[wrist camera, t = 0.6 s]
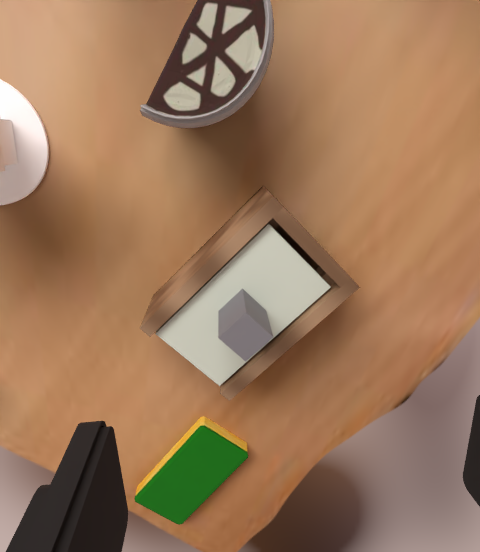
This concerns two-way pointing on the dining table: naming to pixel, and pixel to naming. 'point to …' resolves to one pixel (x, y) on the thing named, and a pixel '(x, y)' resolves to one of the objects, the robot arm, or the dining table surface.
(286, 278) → the cover plate
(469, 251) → the dining table surface
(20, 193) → the panda figurine
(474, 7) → the dining table surface
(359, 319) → the dining table surface
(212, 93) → the food container
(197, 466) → the dish sponge
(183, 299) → the slide box
